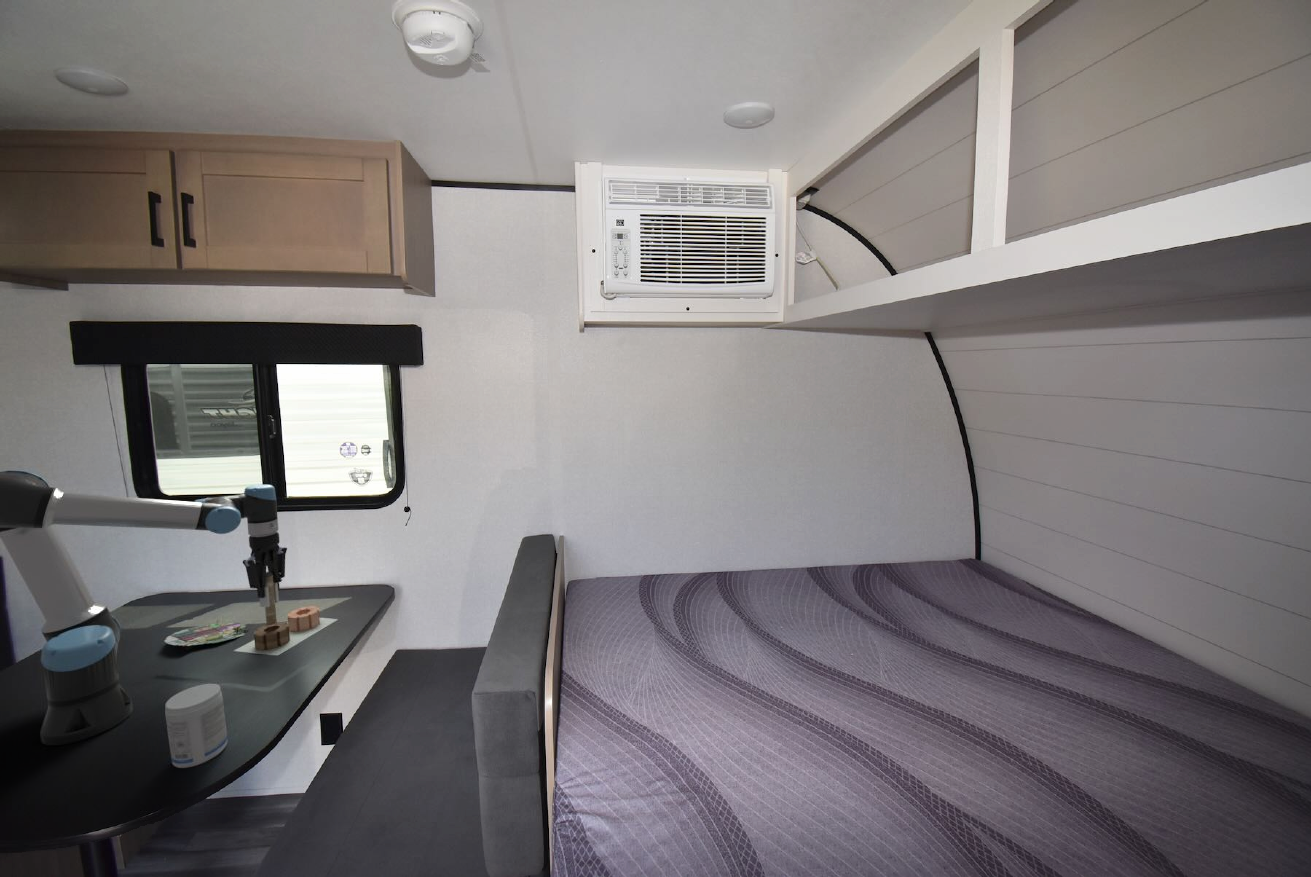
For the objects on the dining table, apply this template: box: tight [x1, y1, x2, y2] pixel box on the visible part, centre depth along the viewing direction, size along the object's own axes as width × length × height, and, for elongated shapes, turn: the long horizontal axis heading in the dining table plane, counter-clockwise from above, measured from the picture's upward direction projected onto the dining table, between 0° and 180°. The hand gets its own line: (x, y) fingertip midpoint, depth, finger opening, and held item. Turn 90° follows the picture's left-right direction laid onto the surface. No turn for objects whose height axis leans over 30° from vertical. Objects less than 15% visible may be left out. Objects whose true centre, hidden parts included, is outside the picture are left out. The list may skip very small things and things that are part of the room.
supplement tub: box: [164, 683, 228, 769], centre depth 113 cm, size 10×10×15 cm
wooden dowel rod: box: [264, 571, 278, 626], centre depth 158 cm, size 3×3×17 cm
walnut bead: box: [253, 621, 290, 651], centre depth 159 cm, size 9×9×5 cm
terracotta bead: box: [287, 605, 320, 632], centre depth 171 cm, size 9×9×5 cm
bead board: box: [233, 617, 339, 656], centre depth 165 cm, size 24×16×1 cm, turn 171°
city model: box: [163, 620, 250, 651], centre depth 165 cm, size 25×23×6 cm
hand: (269, 604), depth 158 cm, fingers closed on wooden dowel rod, 2 cm apart
